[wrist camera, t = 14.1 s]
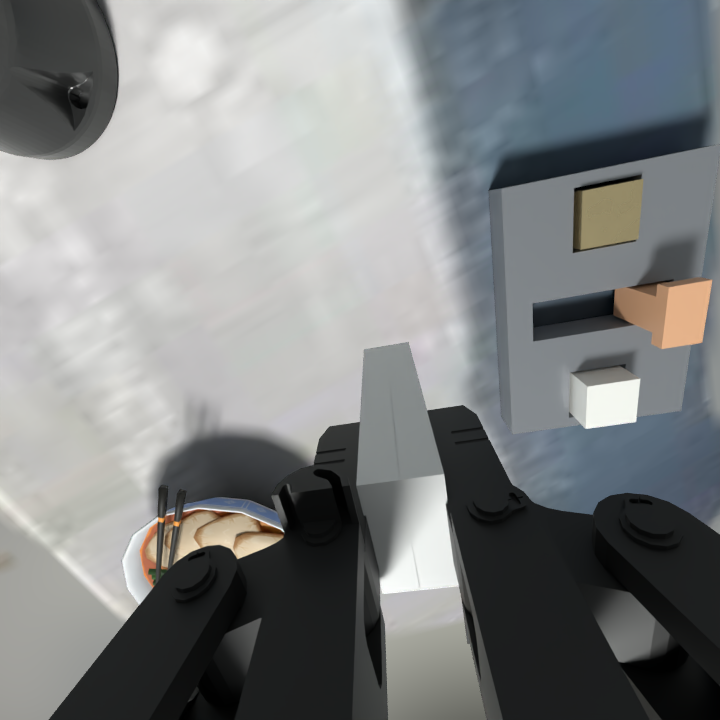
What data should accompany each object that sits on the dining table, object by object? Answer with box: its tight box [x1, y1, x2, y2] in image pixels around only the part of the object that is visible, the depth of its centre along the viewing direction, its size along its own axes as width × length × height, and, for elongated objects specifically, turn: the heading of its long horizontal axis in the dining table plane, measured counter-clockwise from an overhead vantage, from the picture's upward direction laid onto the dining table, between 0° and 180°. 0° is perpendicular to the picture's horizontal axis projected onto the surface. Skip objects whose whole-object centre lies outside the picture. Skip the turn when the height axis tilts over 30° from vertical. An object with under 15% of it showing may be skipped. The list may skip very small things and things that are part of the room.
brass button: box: [573, 179, 644, 250], centre depth 31 cm, size 4×4×4 cm
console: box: [489, 144, 720, 434], centre depth 34 cm, size 23×16×4 cm
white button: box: [569, 365, 640, 429], centre depth 35 cm, size 4×4×4 cm
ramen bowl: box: [121, 485, 284, 605], centre depth 45 cm, size 25×23×8 cm
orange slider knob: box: [613, 277, 712, 349], centre depth 31 cm, size 5×3×6 cm, turn 11°
